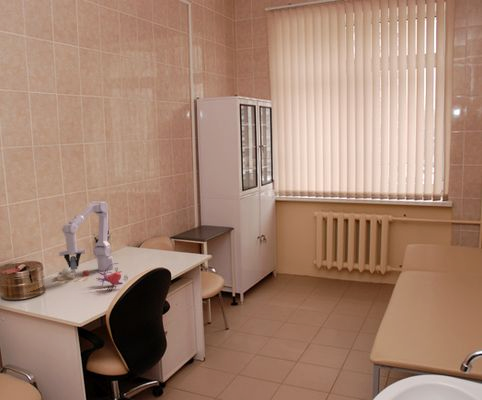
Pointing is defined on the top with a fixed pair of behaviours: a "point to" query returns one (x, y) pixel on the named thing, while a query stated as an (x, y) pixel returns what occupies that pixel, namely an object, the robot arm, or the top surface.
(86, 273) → the beige irregular flat piece
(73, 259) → the pawn
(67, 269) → the dome
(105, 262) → the robot arm
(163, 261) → the top surface
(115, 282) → the heart model
